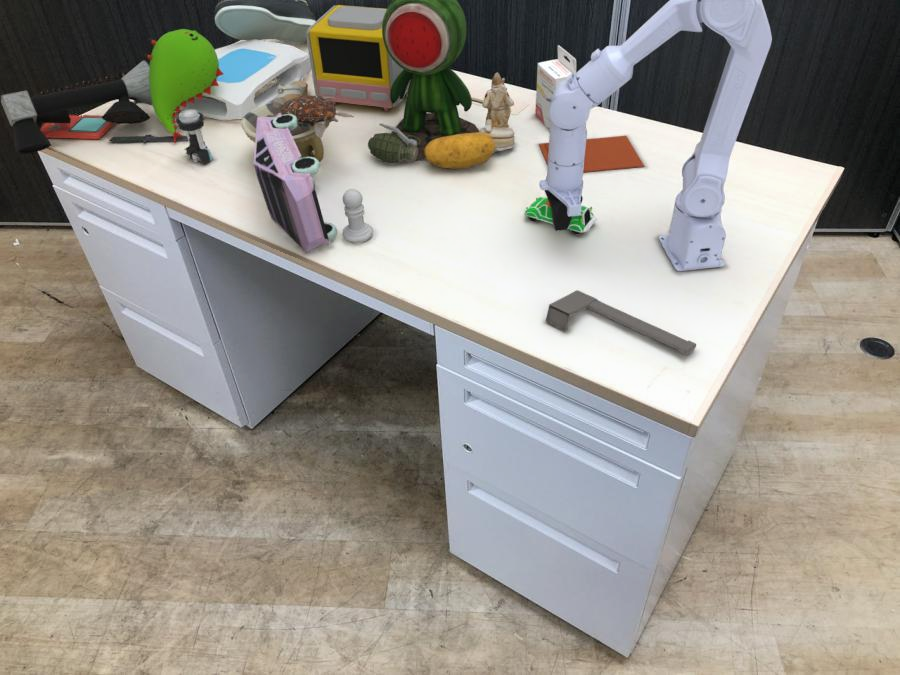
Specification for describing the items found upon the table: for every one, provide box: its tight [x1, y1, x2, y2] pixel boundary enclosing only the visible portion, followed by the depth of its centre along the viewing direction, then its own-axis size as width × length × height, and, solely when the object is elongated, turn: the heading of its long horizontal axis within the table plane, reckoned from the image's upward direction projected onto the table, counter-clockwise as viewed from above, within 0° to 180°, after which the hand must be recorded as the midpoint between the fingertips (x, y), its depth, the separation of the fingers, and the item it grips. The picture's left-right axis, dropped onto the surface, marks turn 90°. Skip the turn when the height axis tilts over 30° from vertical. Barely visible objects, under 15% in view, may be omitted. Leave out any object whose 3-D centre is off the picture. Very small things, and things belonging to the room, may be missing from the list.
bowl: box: [240, 100, 331, 163], centre depth 150 cm, size 18×18×10 cm
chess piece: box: [341, 188, 374, 243], centre depth 131 cm, size 5×5×9 cm
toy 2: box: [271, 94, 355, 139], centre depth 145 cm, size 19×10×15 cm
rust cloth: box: [538, 135, 645, 174], centre depth 151 cm, size 12×18×1 cm, turn 97°
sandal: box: [276, 80, 309, 101], centre depth 170 cm, size 7×16×5 cm, turn 167°
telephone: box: [0, 60, 153, 155], centre depth 161 cm, size 15×13×30 cm
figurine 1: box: [382, 0, 480, 161], centre depth 148 cm, size 17×20×30 cm
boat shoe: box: [214, 0, 318, 44], centre depth 186 cm, size 11×30×9 cm
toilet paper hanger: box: [545, 290, 697, 356], centre depth 112 cm, size 20×8×3 cm, turn 49°
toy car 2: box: [524, 196, 597, 236], centre depth 133 cm, size 12×5×4 cm, turn 58°
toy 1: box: [142, 28, 224, 144], centre depth 159 cm, size 13×23×15 cm
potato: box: [424, 131, 495, 170], centre depth 148 cm, size 8×14×7 cm, turn 88°
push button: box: [175, 109, 213, 166], centre depth 152 cm, size 7×5×10 cm
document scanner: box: [179, 39, 312, 121], centre depth 175 cm, size 21×28×6 cm
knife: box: [108, 133, 188, 144], centre depth 162 cm, size 18×1×3 cm
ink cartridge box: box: [534, 44, 577, 130], centre depth 157 cm, size 9×5×15 cm, turn 22°
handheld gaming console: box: [40, 114, 116, 140], centre depth 166 cm, size 9×1×15 cm
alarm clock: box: [306, 4, 410, 112], centre depth 167 cm, size 20×16×18 cm
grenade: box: [367, 122, 421, 164], centre depth 150 cm, size 6×7×10 cm
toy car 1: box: [253, 113, 338, 253], centre depth 133 cm, size 15×25×10 cm
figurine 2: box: [479, 72, 515, 153], centre depth 151 cm, size 7×7×15 cm
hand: (560, 228), depth 131 cm, fingers closed
